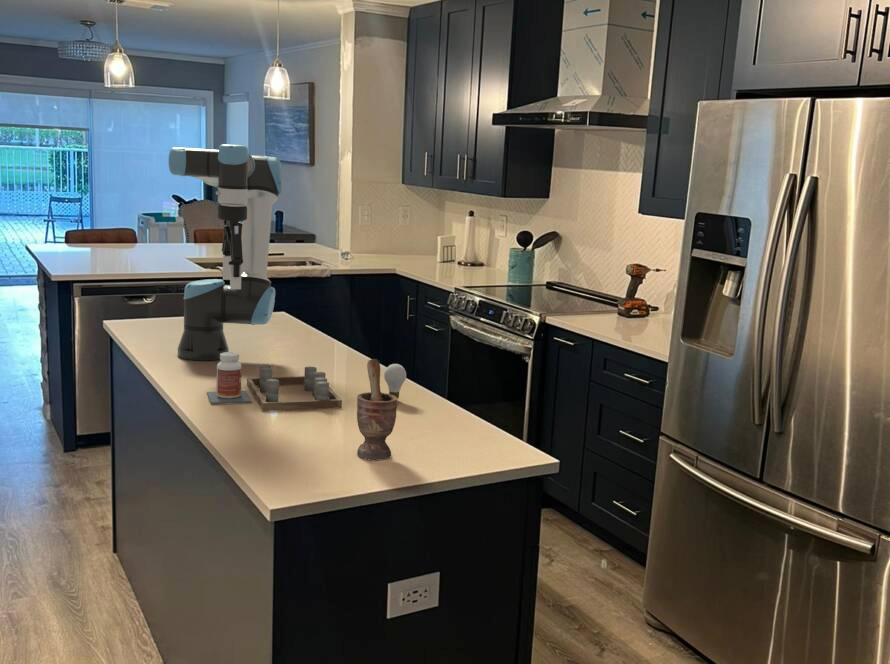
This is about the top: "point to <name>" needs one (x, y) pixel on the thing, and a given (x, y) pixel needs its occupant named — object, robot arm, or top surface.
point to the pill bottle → (229, 376)
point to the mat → (217, 400)
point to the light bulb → (395, 378)
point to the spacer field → (310, 380)
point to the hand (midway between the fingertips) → (231, 284)
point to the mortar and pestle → (375, 416)
